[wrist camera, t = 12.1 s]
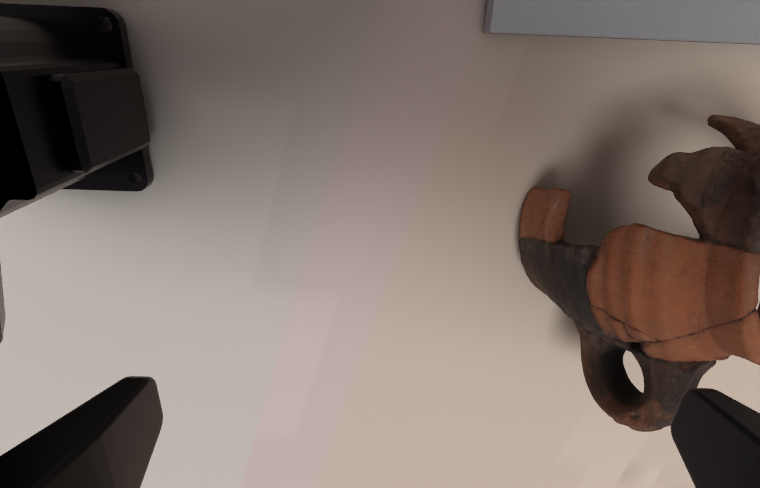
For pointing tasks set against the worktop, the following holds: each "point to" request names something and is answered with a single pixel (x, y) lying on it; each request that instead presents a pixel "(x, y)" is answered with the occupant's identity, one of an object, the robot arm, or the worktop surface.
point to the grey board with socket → (629, 19)
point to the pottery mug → (660, 279)
